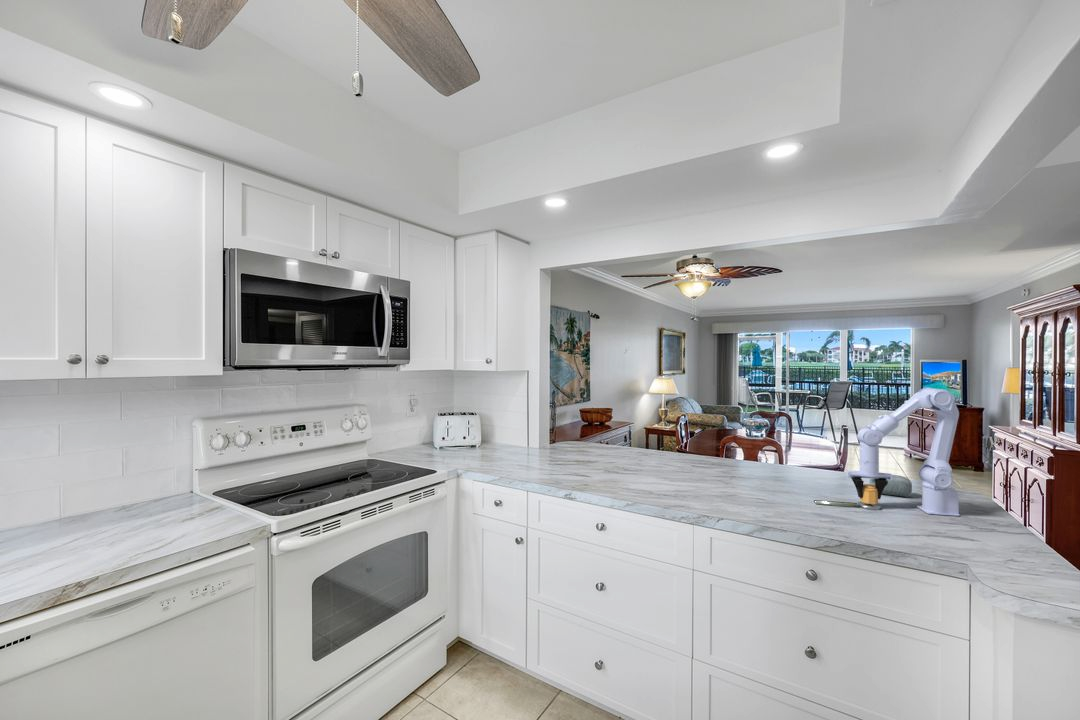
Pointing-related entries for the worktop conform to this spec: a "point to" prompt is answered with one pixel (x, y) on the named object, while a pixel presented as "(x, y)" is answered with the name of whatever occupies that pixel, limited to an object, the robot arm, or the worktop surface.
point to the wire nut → (869, 494)
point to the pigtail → (850, 504)
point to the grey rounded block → (897, 486)
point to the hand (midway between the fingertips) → (869, 497)
